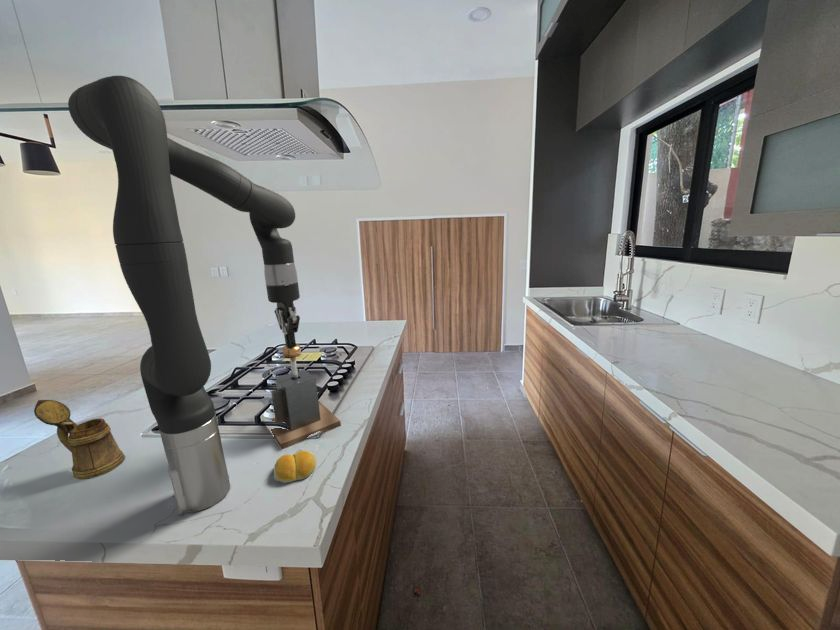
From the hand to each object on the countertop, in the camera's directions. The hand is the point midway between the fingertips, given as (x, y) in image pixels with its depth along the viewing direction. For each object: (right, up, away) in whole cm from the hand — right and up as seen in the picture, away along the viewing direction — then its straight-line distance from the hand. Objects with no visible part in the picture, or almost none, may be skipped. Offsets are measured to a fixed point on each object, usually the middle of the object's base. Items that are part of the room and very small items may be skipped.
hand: (291, 346), depth 90 cm
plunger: (+1, -14, +3) cm, 14 cm away
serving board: (+1, -22, +6) cm, 23 cm away
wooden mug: (-44, -28, -9) cm, 53 cm away
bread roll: (+6, -27, -13) cm, 31 cm away
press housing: (0, -21, +5) cm, 22 cm away
